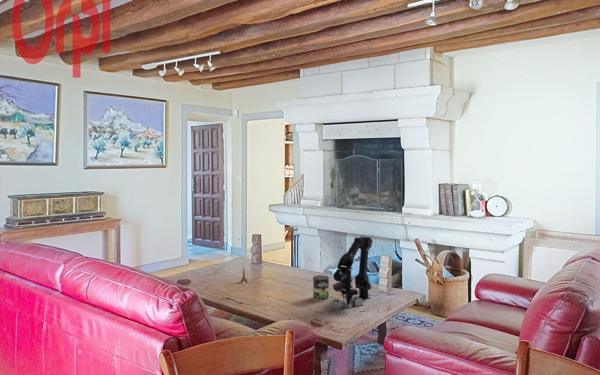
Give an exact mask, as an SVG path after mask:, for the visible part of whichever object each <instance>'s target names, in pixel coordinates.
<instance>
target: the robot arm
mask: <svg viewBox="0 0 600 375" xmlns="http://www.w3.org/2000/svg"><path fill="white" fill-rule="evenodd" d="M372 246H373V239H372V238H371V236H360V237H355V238H354V240H353V242H352V243H351V246H350V247H349V249H348V251H347V252H346V253H344V254H342V256H341V257H340V259H339V261H338V264H337V267H336V270H335V272H334V273H333V275H332V276H333V280H335V281H336V283H334V284H332V288H333V290H334V291H335V292H339V293H341V296H342V301H344V298H343V296H344V294H345V295H346V300H347V304H349V303H350V302H351V298H354V296H356V297H359V298H361V299H362V300H365V299H370V300H371V297H370V296H369V290H371V289H372V284H371V283H370V281H369V279H370V278H369V274H368V273H367V271H368V259H369V251H370V249H371V248H372ZM359 250H360V256H359V268H358V274H357V275H355V279H354V284H355V288H353V285H352V282H353V279H352V270H353V265H354V262H355V256H356V255H357V252H358V251H359ZM357 289H358V290H357Z"/></svg>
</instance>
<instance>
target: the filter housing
mask: <svg viewBox="0 0 600 375" xmlns="http://www.w3.org/2000/svg"><path fill="white" fill-rule="evenodd" d="M364 306H365V304H363V299H361V298H359V299H358V300H355V299H354V297H352V298H351V300H350V303H349V305H344V300H342V301H341V300H339V302H337V303H334V299H333V300H330V306H328V308H329V309H330V310H336V311H338V310H343V309H344V310H346V309H352V308H359V307H364Z"/></svg>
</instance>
